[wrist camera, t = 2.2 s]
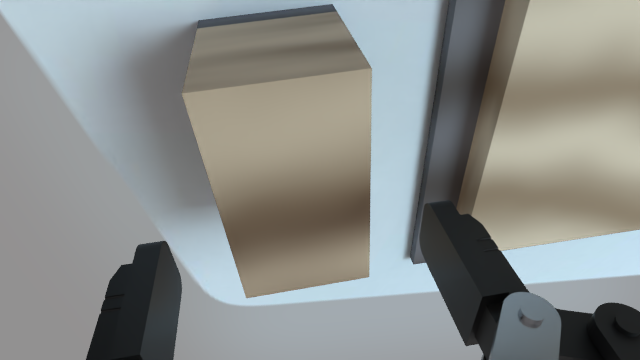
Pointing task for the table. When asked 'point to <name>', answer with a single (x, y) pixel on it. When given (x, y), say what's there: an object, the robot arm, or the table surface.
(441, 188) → the board
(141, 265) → the robot arm
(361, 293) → the table surface
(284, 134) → the block
